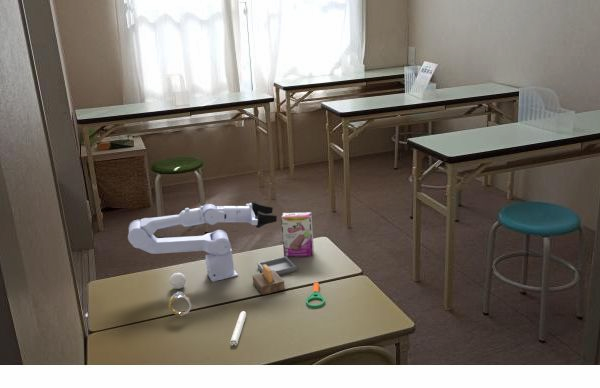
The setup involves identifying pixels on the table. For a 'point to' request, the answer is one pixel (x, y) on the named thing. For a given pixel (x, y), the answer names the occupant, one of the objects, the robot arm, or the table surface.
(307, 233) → the candy bar box
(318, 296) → the magnifying glass
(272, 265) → the tray
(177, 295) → the ring
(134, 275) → the table surface
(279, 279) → the brown slotted block
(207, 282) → the table surface
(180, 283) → the white egg
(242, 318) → the marker
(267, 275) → the tan wooden plank
